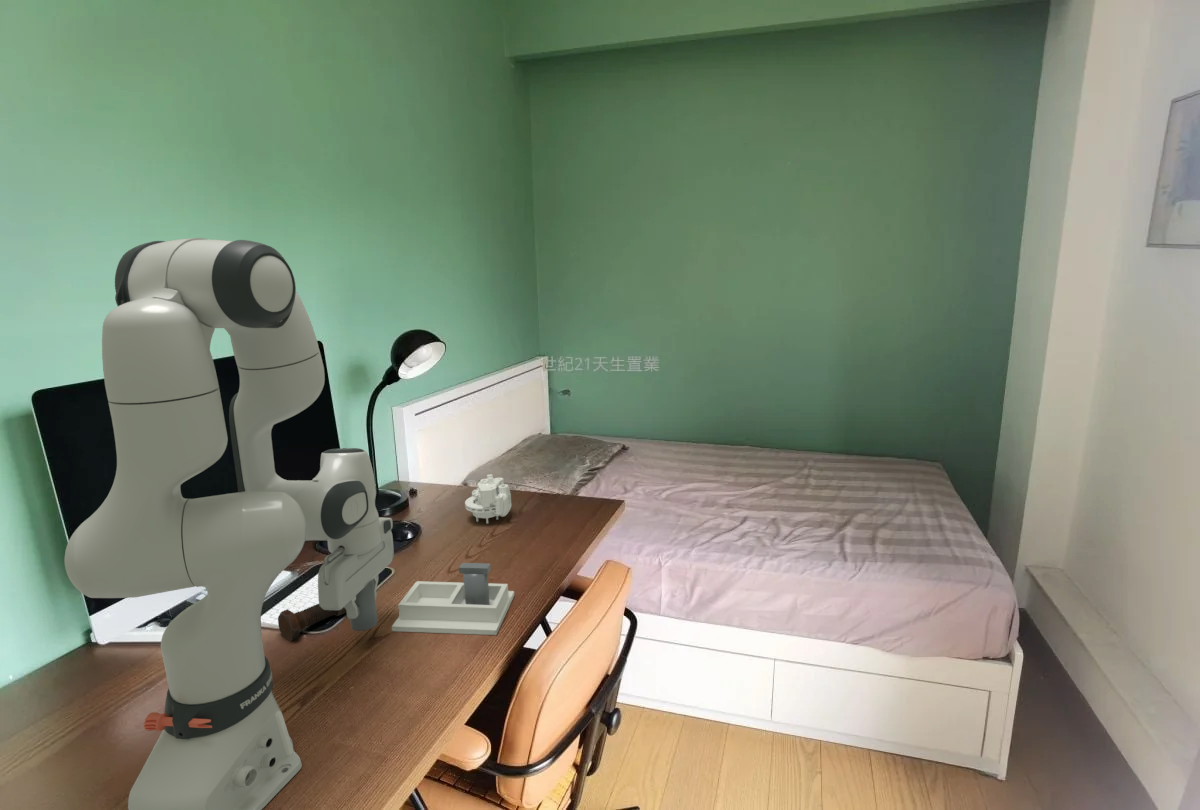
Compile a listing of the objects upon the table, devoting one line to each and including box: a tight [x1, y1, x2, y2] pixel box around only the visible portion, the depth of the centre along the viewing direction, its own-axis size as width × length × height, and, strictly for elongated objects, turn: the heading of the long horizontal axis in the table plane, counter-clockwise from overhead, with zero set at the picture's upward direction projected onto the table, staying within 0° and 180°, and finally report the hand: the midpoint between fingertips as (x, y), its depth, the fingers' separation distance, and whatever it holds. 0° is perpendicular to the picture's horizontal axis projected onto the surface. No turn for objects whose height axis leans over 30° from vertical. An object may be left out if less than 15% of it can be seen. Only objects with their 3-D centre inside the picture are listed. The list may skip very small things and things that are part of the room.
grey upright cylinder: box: [349, 580, 379, 632], centre depth 115 cm, size 5×5×8 cm
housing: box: [391, 562, 515, 636], centre depth 123 cm, size 14×20×10 cm
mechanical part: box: [464, 474, 512, 524], centre depth 167 cm, size 11×12×12 cm
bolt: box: [277, 603, 347, 642], centre depth 123 cm, size 6×5×15 cm
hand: (362, 608), depth 115 cm, fingers closed on grey upright cylinder, 5 cm apart
